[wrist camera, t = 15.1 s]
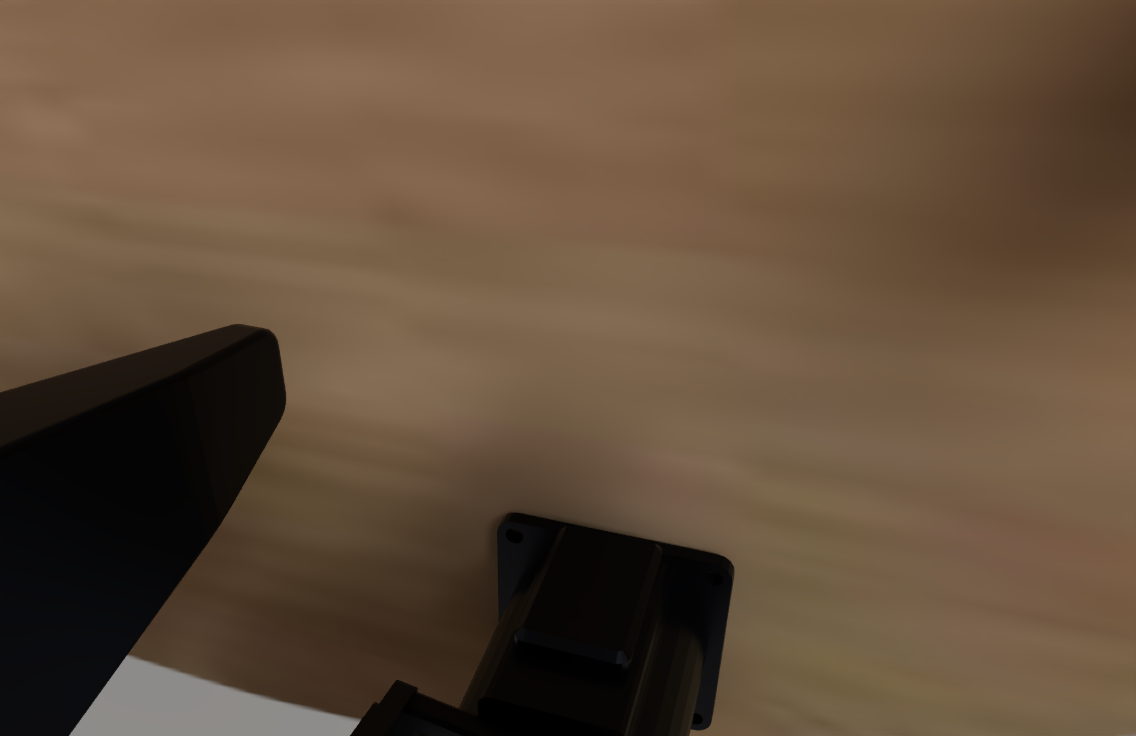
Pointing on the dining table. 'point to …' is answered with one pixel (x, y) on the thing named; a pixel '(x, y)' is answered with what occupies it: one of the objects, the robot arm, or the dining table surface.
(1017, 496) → the dining table surface
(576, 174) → the dining table surface
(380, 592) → the dining table surface
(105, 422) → the robot arm
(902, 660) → the dining table surface
